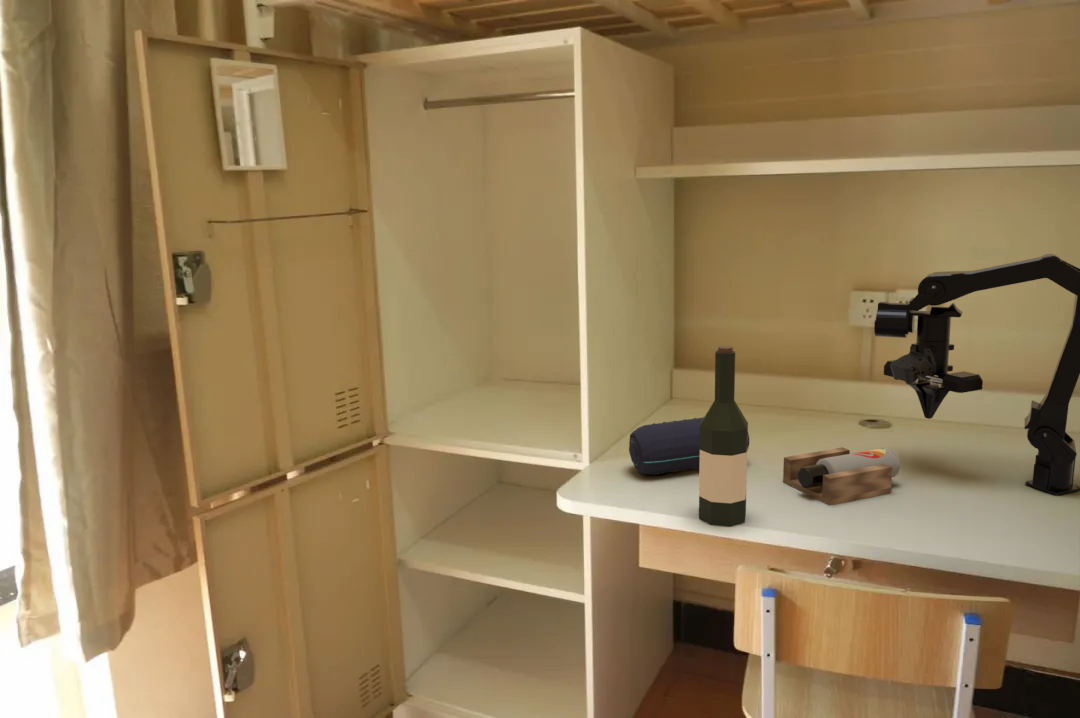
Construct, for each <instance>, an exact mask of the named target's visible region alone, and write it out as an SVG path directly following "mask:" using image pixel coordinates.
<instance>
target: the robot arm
mask: <svg viewBox="0 0 1080 718" xmlns="http://www.w3.org/2000/svg"><path fill="white" fill-rule="evenodd" d="M1042 279H1047V280H1049V281H1052V283H1055V284H1057V285H1058V286H1059V287H1060V288H1061V287H1062V288H1063V289H1065V290H1066V291H1068V292H1070V293H1072V294H1074V301H1073V310H1072V319H1071V320H1072V321H1071V324H1070V326H1069V329H1068V333H1067V335H1066V338H1065V341H1064V344H1063V347H1062V350H1061V352H1060V355H1059V358H1058V360H1057V363H1056V365H1055V368H1054V371H1053V374H1052V377H1051V379H1050V383H1049V386H1048V387H1047V391H1046V393H1045V394H1044V396H1043V398H1042V399H1041V400H1040V401H1039V402H1038V401H1035V400H1031V402H1030V408H1029V409H1030V410H1029V412H1028V414H1027V416H1026V417H1024V424H1023V425H1024V428H1023V429H1024V430H1026V437H1027V440H1028V442H1029V444H1030V445H1031V446H1032V447H1033V448H1034V449H1037V450H1038V451H1037V454H1036V455H1035V458H1034V459H1035V460H1034V464H1033V472H1032V479H1030V480H1026V481H1025V483H1024V484H1025V485H1026V486H1029V487H1032V488H1035V489H1037V490H1040V491H1043V492H1047V493H1049V494H1052V495H1054V496H1059V495H1065V494H1068V493H1073V492H1078V491H1080V486H1078V485H1075V484H1074V476H1075V468H1076V467H1075V466H1076V458H1077V455H1078V453H1077V448H1076V447H1077V446H1076V441H1075V440H1074V438H1072V437H1071V436H1070V434H1068V433H1067V432H1066V429H1067V422H1068V413H1069V405H1070V401H1071V398H1072V397H1073V393H1074V391H1075V387H1076V386H1077V382H1078V380H1079V378H1080V267H1077V266H1076V265H1073V264H1071V263H1069V262H1067V261H1065V260H1063V259H1061V257H1060V256H1058V255H1056V254H1054V253H1047V254H1044V255H1041V256H1038V257H1033V258H1029V259H1023V260H1020V261H1019V260H1018V261H1014V262H1009V263H1004V264H1000V265H995V266H989V267H985V268H984V267H983V268H980V269H975V270H964V271H963V270H953V271H952V270H951V271H935V272H931V273H928V274H927V275H926V276H924V278H923V279H922V280H921V281H920V283H918V287H917V294H916V295H915V297H912V298H911V299H909V301H908V303H907V302H905V303H903V302H902V303H901V302H889V301H879V302H878V304H877V310H876V314H875V319H874V326H873V327H874V336H875V337H881V338H882V337H883V338H904V339H906V338H908V335H909V334H913V333H914V331H915V319H916V318H915V317H917V321H916V323H917V325H916V326H917V327H916V341H915V343H911V345H910V347H909V353H907V354H904V355H902V356H900V357H898V358H897V359H892V360H887V361H886V362H885V364H884V365H883V375H884V376H886V377H891V378H893V379H894V380H895V381H902V382H905V384H906V385H908V386H910V387H911V388H912V389H913V390H914V391H915V393H916V395H917V397H918V400H919V403H920V407H921V410H922V413H923V416H924V418H925V419H928V420H930V419H932V418H934V416H935V414H936V413H937V411H938V409H939V407H940V406H941V404H942V402H943V400H944V399H945V398H946V396H947V395H948V394H949V392H953V393H958V394H964V393H969V392H975V391H982V390H983V385H984V384H983V383H984V381H983V377H982V376H981V375H980V374H978V373H974V372H968V371H964V370H963V371H958V372H953V370H954V367H953V365H951V364H949V358H950V357H949V355H950V354H949V353H950V351H954V350H955V344H953V343H950V341H951V339H950V338H951V324H952V323H951V321H952V320H951V319H952V318H962V315H963V311H962V310H960V309H959V308H958V306H957V305H956V304H955V303H954V302H952V301H955V300H957V299H960V298H962V297H964V296H967V295H969V294H972V293H975V292H979V291H984V290H990V289H996V288H999V287H1000V288H1001V287H1005V286H1006V287H1007V286H1011V285H1016V284H1022V283H1026V282H1032V281H1038V280H1042ZM949 302H952V303H951V304H950V305H949V306H940V305H944V304H945V303H949ZM927 306H931V307H930V310H923V308H926V307H927ZM949 372H951V373H949Z"/></svg>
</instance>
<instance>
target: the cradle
mask: <svg viewBox="0 0 1080 718" xmlns="http://www.w3.org/2000/svg"><path fill="white" fill-rule="evenodd" d="M850 452H851V450H850V449H848V448H845V447H843V446H842V447H835V448H831V449H826V450H825V449H824V450H819V451H814V452H812V451H811V452H808V453H807V452H806V453H802V454H801V453H800V454H796V455H789V456H784V457H783V470H782V471H783V473H782V479H783V480H782V482H783V483H784V484H786V485H788V486H790V487H792V488H794V489H796V490H798V491H800V492H802V493H804V494H806V495H808V496H809V497H812V498H814V499H816V500H818V501H820V502H822V503H824V504H826V505H828V506H832V505H839V504H843V503H848V502H853V501H857V500H863V499H867V498H873V497H878V496H883V495H887V494H891V493H892V482H893V481H892V480H893V477H892V467H891V466H889V465H886V464H880V465H875V466H870V467H864V468H859V469H853V470H848V471H843V472H837V473H832V474H826V475H823V486H817V487H811V488H803V487H802V486H801V484H800V483H799V481H798V477H797V475H798V472H799V470H800V468H802V467H807V466H812V465H816V463H817V462H818V461H819V460H820V459H824V458H829V457H835V456H840V455H846V454H851V453H850Z"/></svg>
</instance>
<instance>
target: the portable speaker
mask: <svg viewBox="0 0 1080 718" xmlns="http://www.w3.org/2000/svg"><path fill="white" fill-rule="evenodd" d="M704 417H705V416H702V417H693V418H689V419H682V420H672V421H664V422H658V423H656V422H655V423H652V424H644V425H641V426H639V427H637V428H635V430H633V431H632V432H631V433H630V434H629V442H628V443H629V445H628V453H629V456H630V458H631V459H630V460H631V462H632V463H633V466H634V468H635V470H636V472H637V473H639V474H640V475H641V474H642V475H646V476H647V475H649V476H650V475H651V476H652V475H653V476H654V475H661V474H668V473H673V472H680V471H687V470H693V469H699V468H700V425H701V422H702V420H703V418H704ZM749 448H750V434H749V433H748V446H747V452H749Z"/></svg>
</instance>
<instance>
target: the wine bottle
mask: <svg viewBox="0 0 1080 718" xmlns="http://www.w3.org/2000/svg"><path fill="white" fill-rule="evenodd" d="M714 354H715V355H714V356H715V357H714V361H715V362H714V369H715V370H714V401H713V402H712V404H711V405H710V407H709V409H708V410H707V412H706V414H705V415H704V416H703V417H704V418H703V417H702V418H703V420H702V422H701V425H700V468H698V469H699V473H698V475H699V476H698V477H699V482H698V484H699V485H698V486H699V487H698V491H699V492H698V519H699V520H700V521H703V522H704V523H706V524H708V525H709V526H719V527H729V528H730V527H736V526H739V525H742V524H745V523H746V519H747V518H746V516H747V484H748V483H747V481H748V480H747V479H748V451H747V446H748V434H749V423H748V420H747V419H746V416H745V415H744V414H743V412H742V410H741V408H740V407H739V405H738V404H737V402H736V400H735V387H736V385H735V384H736V383H735V382H736V381H735V380H736V351H735V350H734V348H733V346H731V345H719V346H717V350H716V351H715V352H714Z"/></svg>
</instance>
